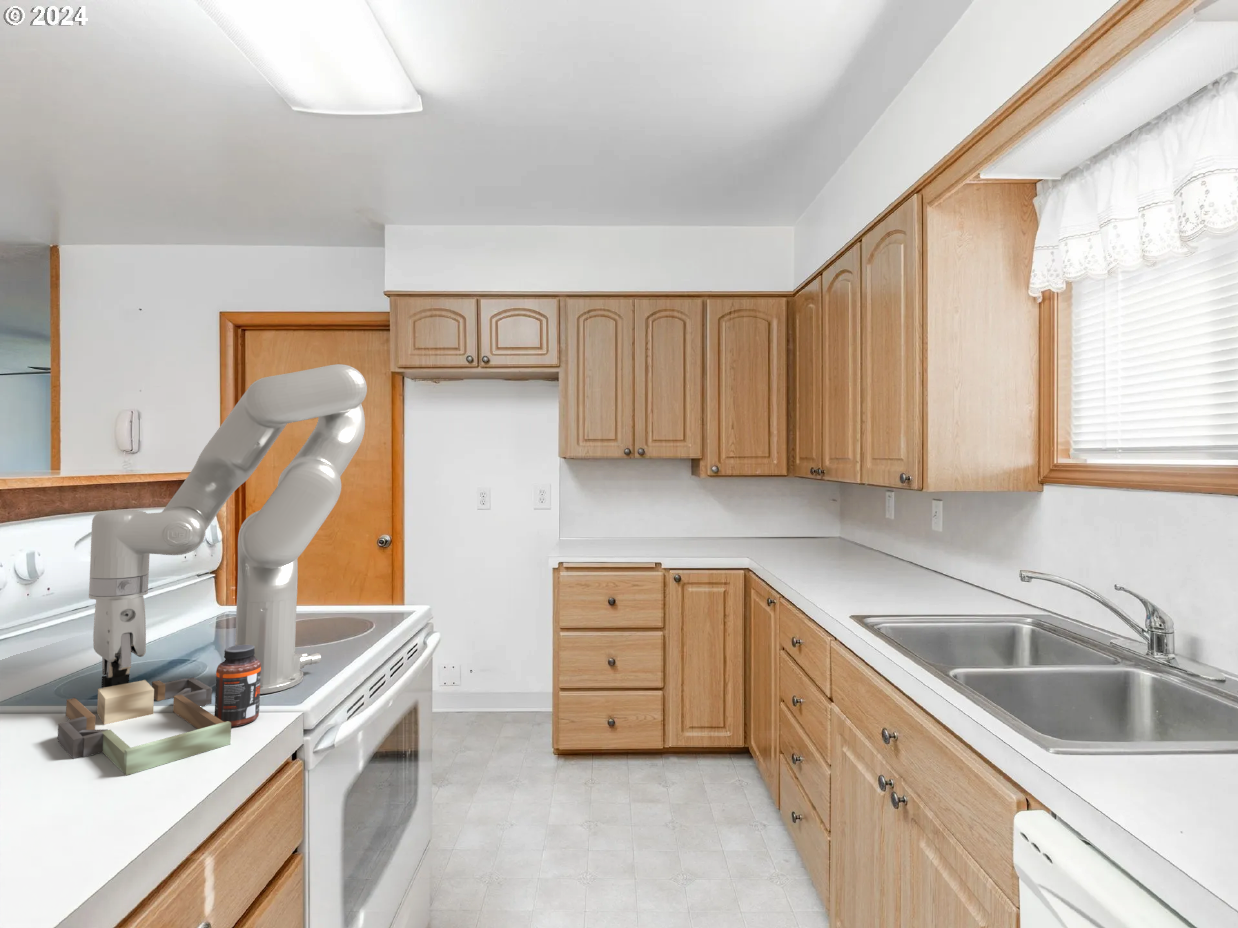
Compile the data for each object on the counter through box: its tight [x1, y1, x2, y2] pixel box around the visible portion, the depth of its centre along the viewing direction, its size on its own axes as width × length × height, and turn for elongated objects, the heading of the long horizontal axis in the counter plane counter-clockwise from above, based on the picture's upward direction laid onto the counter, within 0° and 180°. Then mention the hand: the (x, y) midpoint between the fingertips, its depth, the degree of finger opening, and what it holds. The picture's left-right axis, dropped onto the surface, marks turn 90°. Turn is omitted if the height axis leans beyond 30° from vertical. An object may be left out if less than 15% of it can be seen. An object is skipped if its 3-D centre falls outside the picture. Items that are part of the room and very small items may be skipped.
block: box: [96, 679, 155, 725], centre depth 98 cm, size 6×6×4 cm
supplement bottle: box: [213, 645, 261, 728], centre depth 96 cm, size 6×6×11 cm
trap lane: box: [57, 677, 232, 776], centre depth 93 cm, size 19×29×3 cm, turn 53°
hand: (114, 699), depth 101 cm, fingers closed
